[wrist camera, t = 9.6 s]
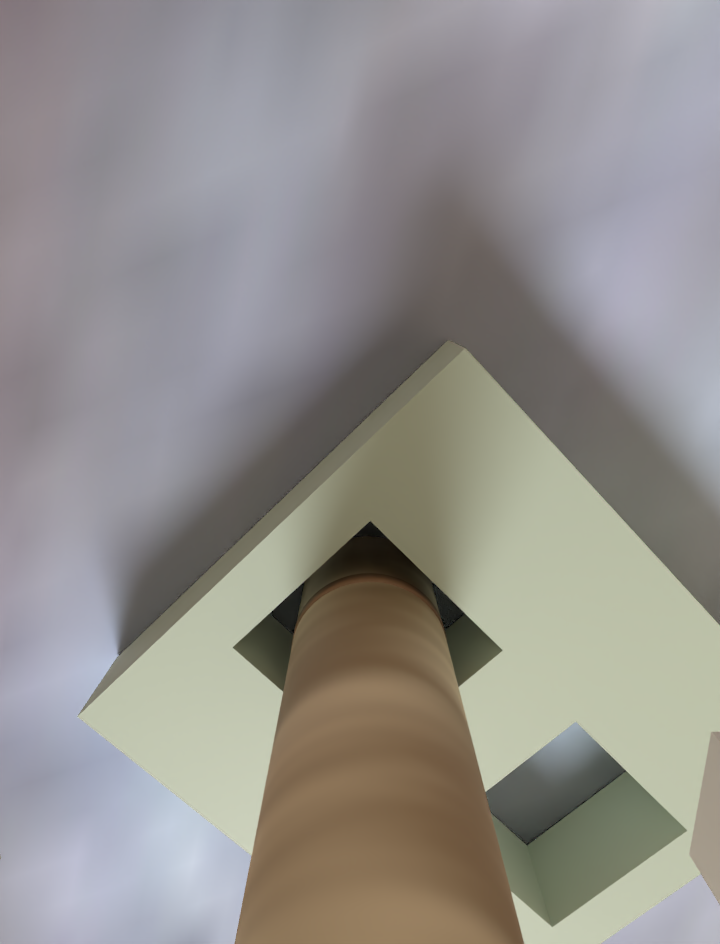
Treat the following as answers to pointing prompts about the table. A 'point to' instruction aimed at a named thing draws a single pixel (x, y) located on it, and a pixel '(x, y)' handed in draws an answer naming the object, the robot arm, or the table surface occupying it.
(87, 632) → the table surface
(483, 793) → the peg
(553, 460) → the board
